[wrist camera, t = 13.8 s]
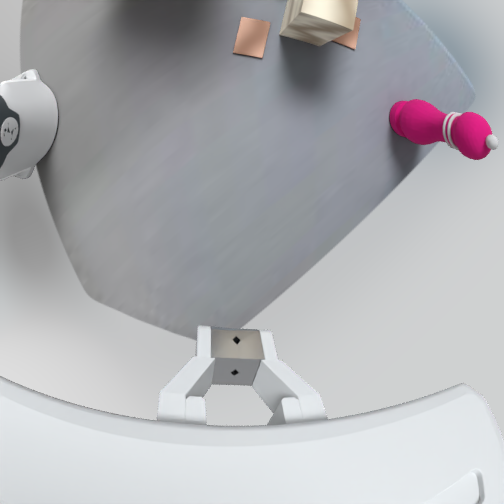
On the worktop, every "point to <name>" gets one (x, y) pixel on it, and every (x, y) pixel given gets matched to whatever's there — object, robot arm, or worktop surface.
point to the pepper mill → (443, 128)
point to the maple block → (318, 20)
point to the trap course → (256, 33)
